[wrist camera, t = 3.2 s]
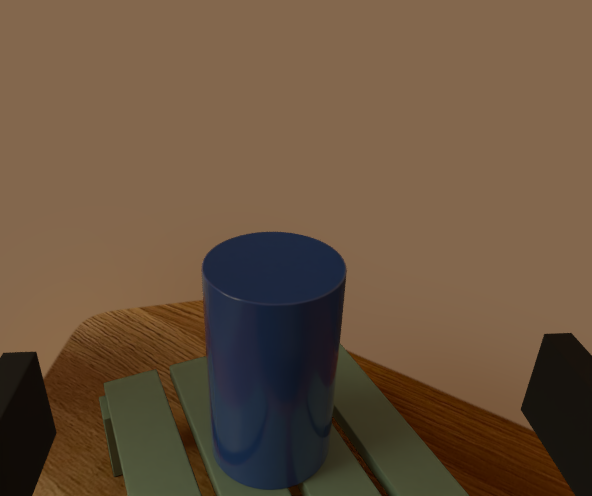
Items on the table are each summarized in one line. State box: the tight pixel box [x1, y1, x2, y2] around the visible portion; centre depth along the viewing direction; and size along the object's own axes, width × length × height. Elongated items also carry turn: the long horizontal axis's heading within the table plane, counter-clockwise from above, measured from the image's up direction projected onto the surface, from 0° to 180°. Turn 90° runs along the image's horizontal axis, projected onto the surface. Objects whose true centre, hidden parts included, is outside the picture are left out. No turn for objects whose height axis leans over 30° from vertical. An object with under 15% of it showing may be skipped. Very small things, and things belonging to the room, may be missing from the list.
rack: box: [99, 344, 469, 496], centre depth 30 cm, size 16×16×6 cm
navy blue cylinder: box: [202, 232, 347, 490], centre depth 26 cm, size 6×6×11 cm
